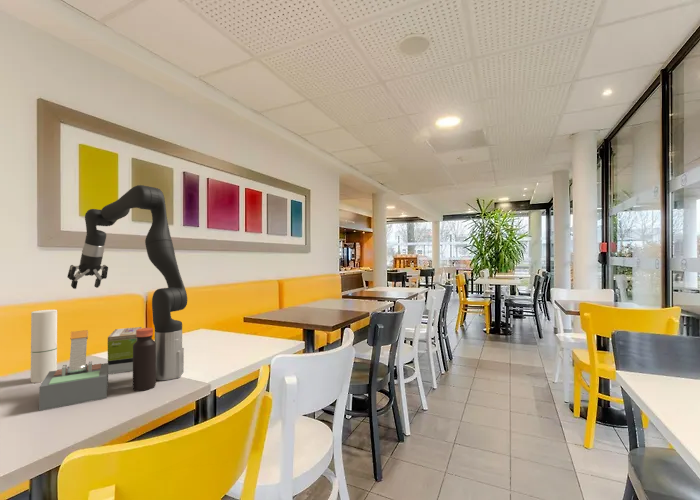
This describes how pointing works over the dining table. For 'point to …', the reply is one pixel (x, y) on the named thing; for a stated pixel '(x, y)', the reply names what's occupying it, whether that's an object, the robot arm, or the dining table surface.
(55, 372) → the switch box
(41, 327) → the cylindrical container
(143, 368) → the bottle
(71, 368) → the lever
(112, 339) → the tea box
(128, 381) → the dining table surface
